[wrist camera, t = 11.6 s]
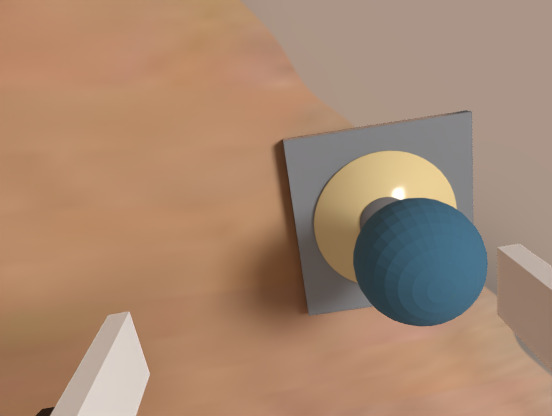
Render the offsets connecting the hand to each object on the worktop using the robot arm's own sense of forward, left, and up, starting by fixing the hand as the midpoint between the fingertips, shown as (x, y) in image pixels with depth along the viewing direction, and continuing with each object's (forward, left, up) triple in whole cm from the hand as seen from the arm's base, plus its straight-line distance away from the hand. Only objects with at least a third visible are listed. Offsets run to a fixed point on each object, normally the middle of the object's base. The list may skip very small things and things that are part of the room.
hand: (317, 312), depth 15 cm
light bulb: (+5, +8, -21) cm, 22 cm away
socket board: (+5, +8, -22) cm, 24 cm away
